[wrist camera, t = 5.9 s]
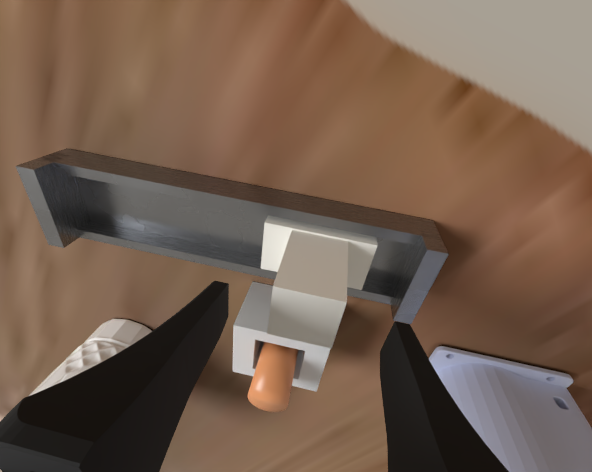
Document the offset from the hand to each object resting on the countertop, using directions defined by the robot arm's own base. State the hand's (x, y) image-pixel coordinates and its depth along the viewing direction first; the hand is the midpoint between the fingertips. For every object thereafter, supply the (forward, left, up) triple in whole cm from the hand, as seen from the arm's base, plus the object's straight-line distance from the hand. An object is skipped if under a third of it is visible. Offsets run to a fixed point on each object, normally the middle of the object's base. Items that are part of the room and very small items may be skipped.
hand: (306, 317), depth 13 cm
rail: (+5, 0, -7) cm, 8 cm away
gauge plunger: (+1, +7, -4) cm, 9 cm away
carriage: (0, 0, -5) cm, 5 cm away
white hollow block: (+1, +7, -7) cm, 10 cm away
